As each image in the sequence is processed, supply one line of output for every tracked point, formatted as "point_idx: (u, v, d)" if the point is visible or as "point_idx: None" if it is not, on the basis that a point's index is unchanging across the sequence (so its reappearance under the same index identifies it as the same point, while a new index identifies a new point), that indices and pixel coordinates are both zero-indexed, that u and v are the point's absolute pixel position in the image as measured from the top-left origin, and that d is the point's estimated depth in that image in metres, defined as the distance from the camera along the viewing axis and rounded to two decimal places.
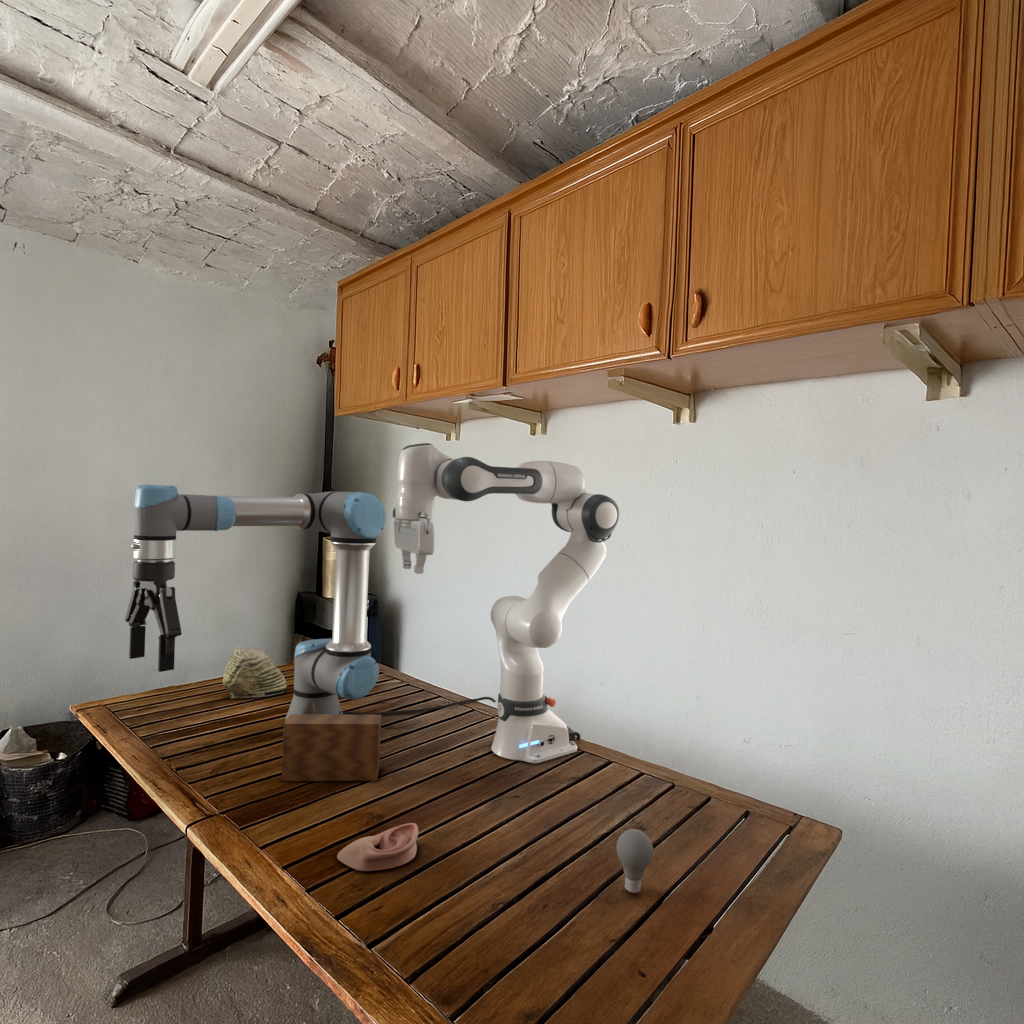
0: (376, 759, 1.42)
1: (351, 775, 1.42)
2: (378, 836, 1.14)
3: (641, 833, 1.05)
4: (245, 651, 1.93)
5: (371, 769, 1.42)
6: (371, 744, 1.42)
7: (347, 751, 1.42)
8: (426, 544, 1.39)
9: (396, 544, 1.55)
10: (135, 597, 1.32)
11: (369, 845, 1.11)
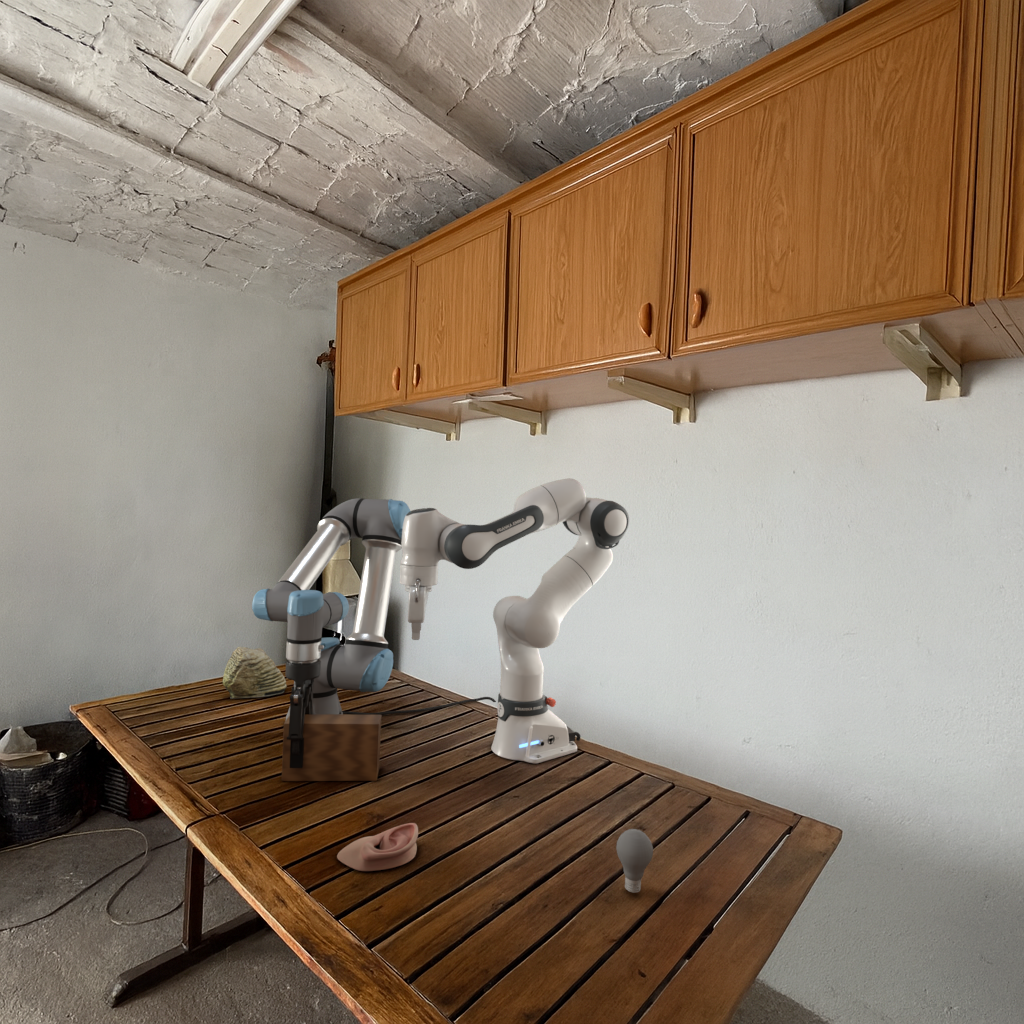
0: (376, 759, 1.42)
1: (351, 775, 1.42)
2: (378, 836, 1.14)
3: (641, 833, 1.05)
4: (245, 651, 1.93)
5: (371, 769, 1.42)
6: (371, 744, 1.42)
7: (347, 751, 1.42)
8: (415, 612, 1.40)
9: None
10: None
11: (369, 845, 1.11)
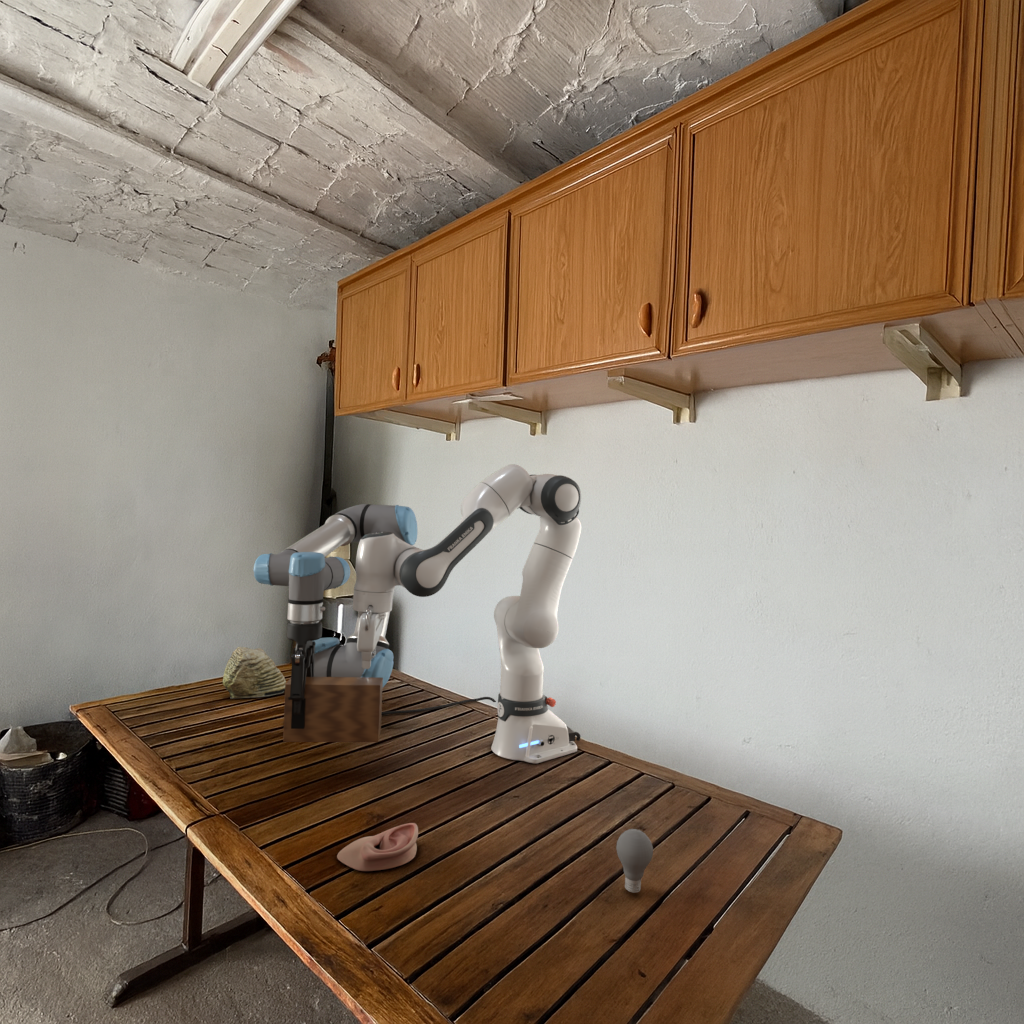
0: (378, 720, 1.42)
1: (353, 736, 1.42)
2: (378, 836, 1.14)
3: (641, 833, 1.05)
4: (245, 651, 1.93)
5: (373, 730, 1.42)
6: (372, 705, 1.42)
7: (349, 712, 1.41)
8: (364, 640, 1.35)
9: (366, 630, 1.53)
10: None
11: (369, 845, 1.11)
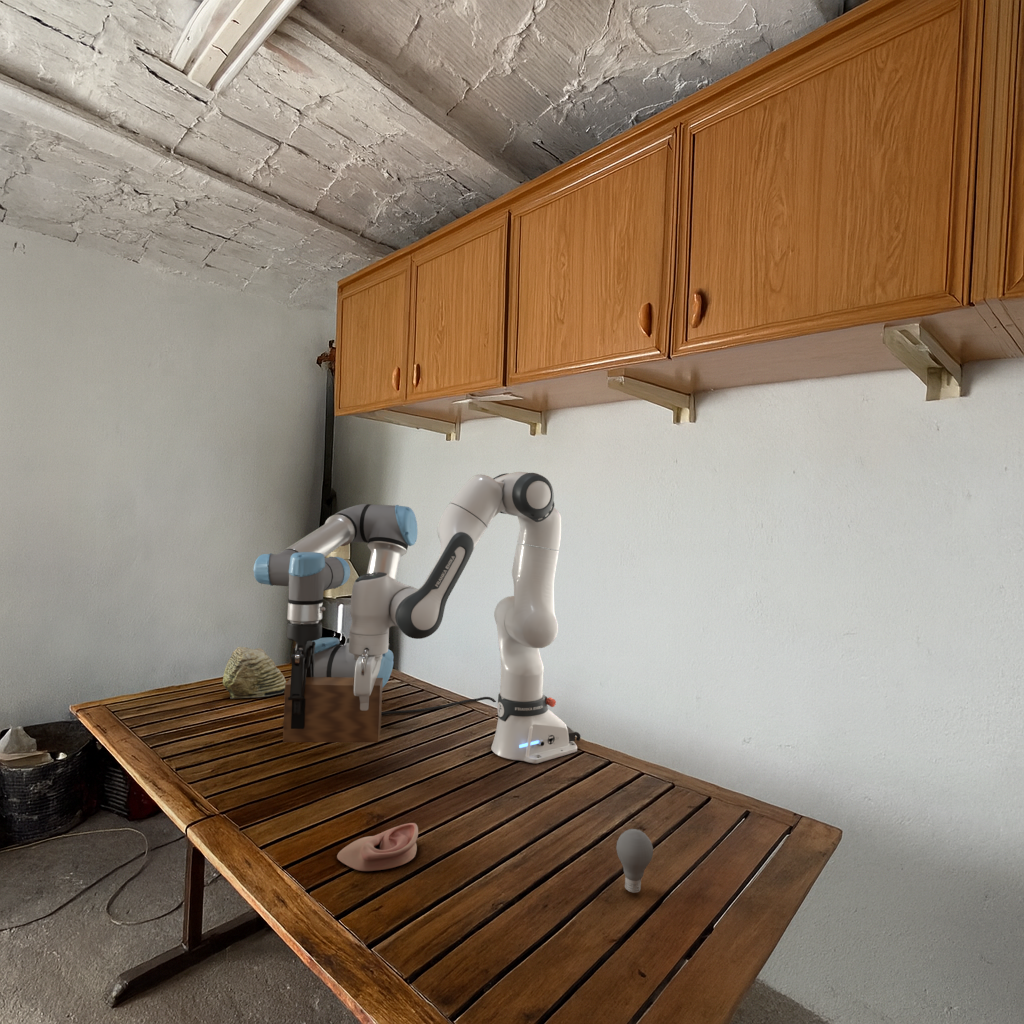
0: (377, 721, 1.42)
1: (353, 737, 1.42)
2: (378, 836, 1.14)
3: (641, 833, 1.05)
4: (245, 651, 1.93)
5: (373, 730, 1.42)
6: (372, 705, 1.42)
7: (349, 712, 1.41)
8: (361, 685, 1.35)
9: None
10: None
11: (369, 845, 1.11)
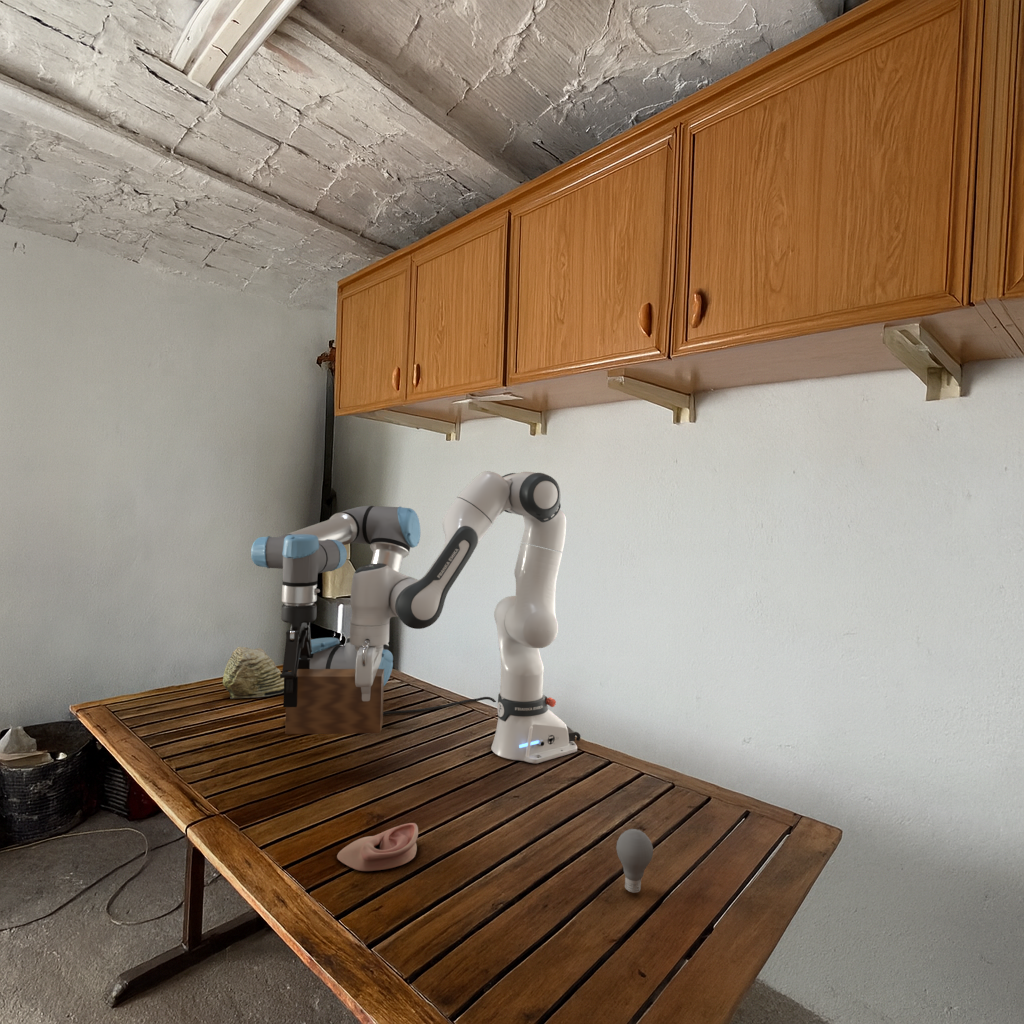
0: (379, 711, 1.42)
1: (355, 728, 1.42)
2: (378, 836, 1.14)
3: (641, 833, 1.05)
4: (245, 651, 1.93)
5: (375, 721, 1.42)
6: (374, 696, 1.42)
7: (350, 704, 1.41)
8: (362, 676, 1.35)
9: None
10: None
11: (369, 845, 1.11)
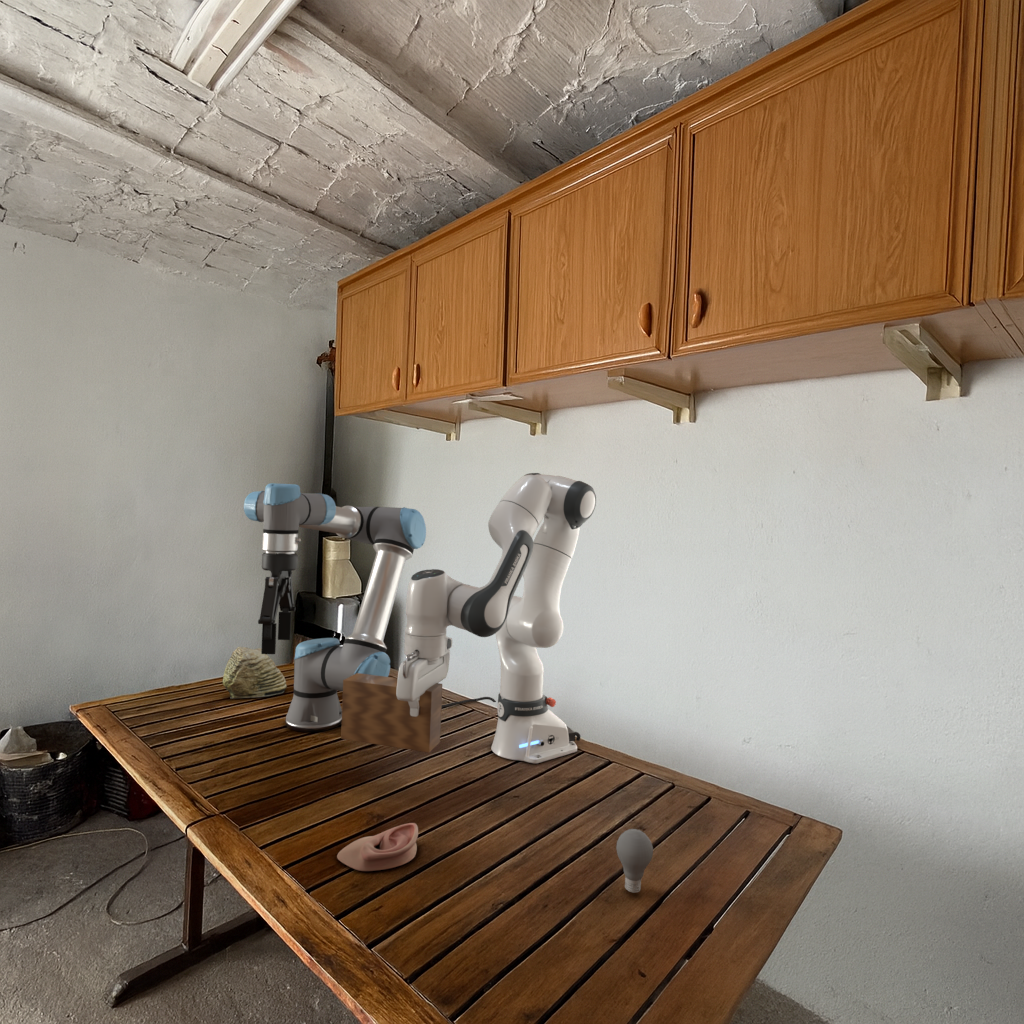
0: (429, 729, 1.32)
1: (405, 743, 1.34)
2: (378, 836, 1.14)
3: (641, 833, 1.05)
4: (245, 651, 1.93)
5: (424, 739, 1.33)
6: (423, 712, 1.33)
7: (401, 716, 1.34)
8: (403, 689, 1.26)
9: None
10: None
11: (369, 845, 1.11)
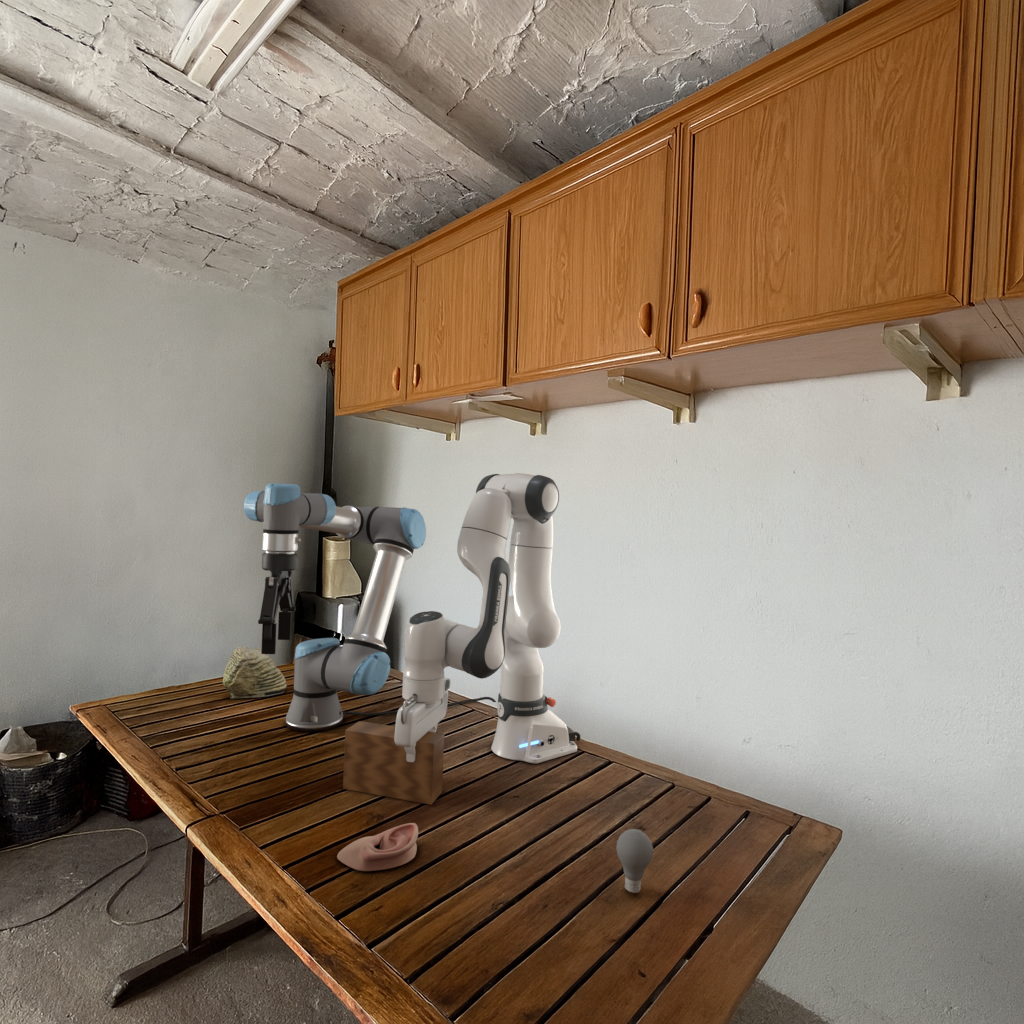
0: (431, 781, 1.32)
1: (407, 794, 1.34)
2: (378, 836, 1.14)
3: (641, 833, 1.05)
4: (245, 651, 1.93)
5: (426, 791, 1.33)
6: (426, 764, 1.33)
7: (403, 768, 1.34)
8: (401, 735, 1.26)
9: None
10: None
11: (369, 845, 1.11)
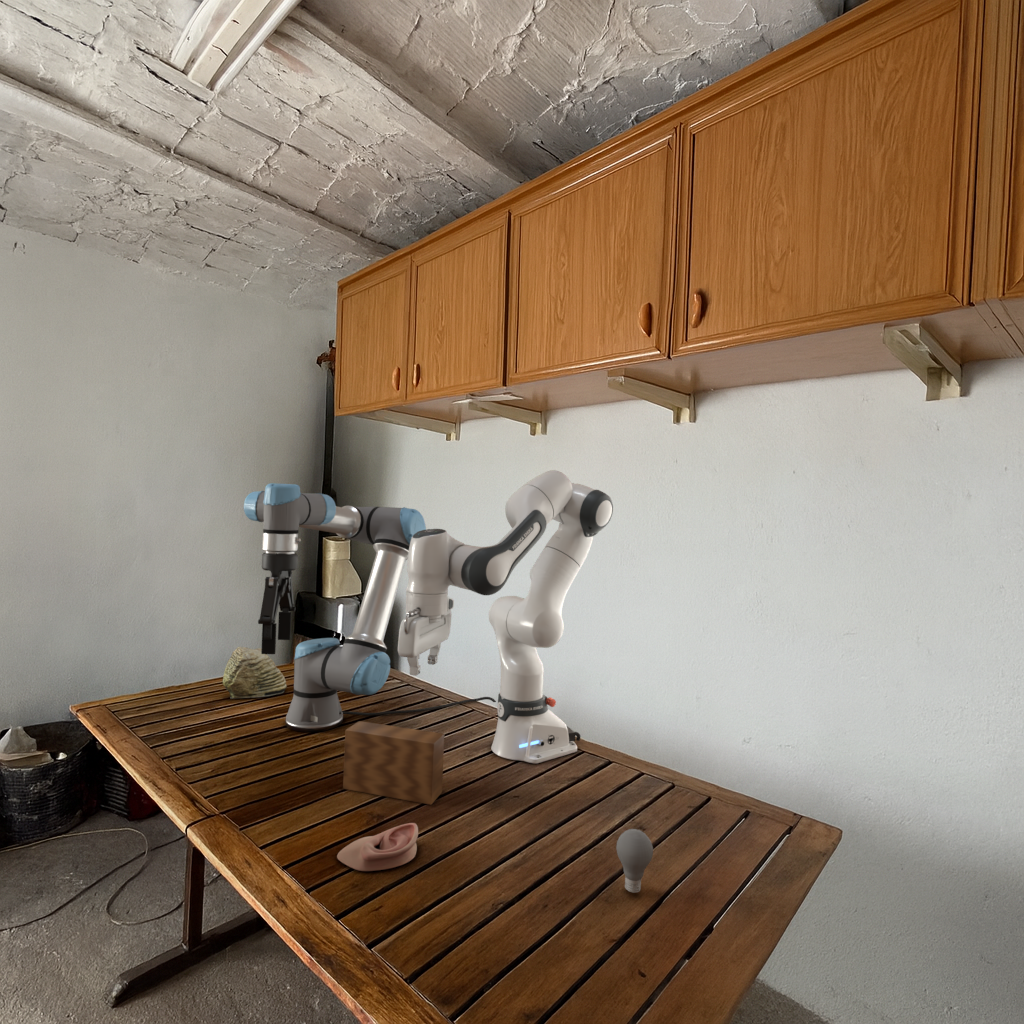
0: (431, 781, 1.32)
1: (407, 794, 1.34)
2: (378, 836, 1.14)
3: (641, 833, 1.05)
4: (245, 651, 1.93)
5: (426, 791, 1.33)
6: (426, 764, 1.33)
7: (403, 768, 1.34)
8: (404, 645, 1.26)
9: None
10: None
11: (369, 845, 1.11)
